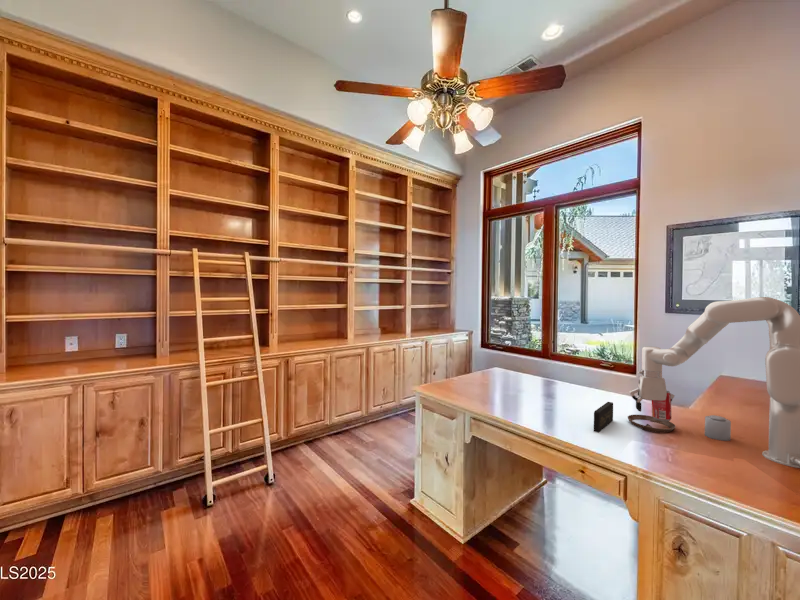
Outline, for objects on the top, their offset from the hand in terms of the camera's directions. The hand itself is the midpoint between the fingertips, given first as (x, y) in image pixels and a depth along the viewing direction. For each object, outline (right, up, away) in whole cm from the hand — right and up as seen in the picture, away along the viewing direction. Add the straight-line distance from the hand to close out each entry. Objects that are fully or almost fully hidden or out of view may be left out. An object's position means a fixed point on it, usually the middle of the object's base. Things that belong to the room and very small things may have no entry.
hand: (651, 411), depth 157 cm
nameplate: (-22, -7, -2) cm, 24 cm away
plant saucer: (0, -8, 0) cm, 8 cm away
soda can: (+4, -4, 0) cm, 6 cm away
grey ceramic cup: (+19, -7, -12) cm, 24 cm away
